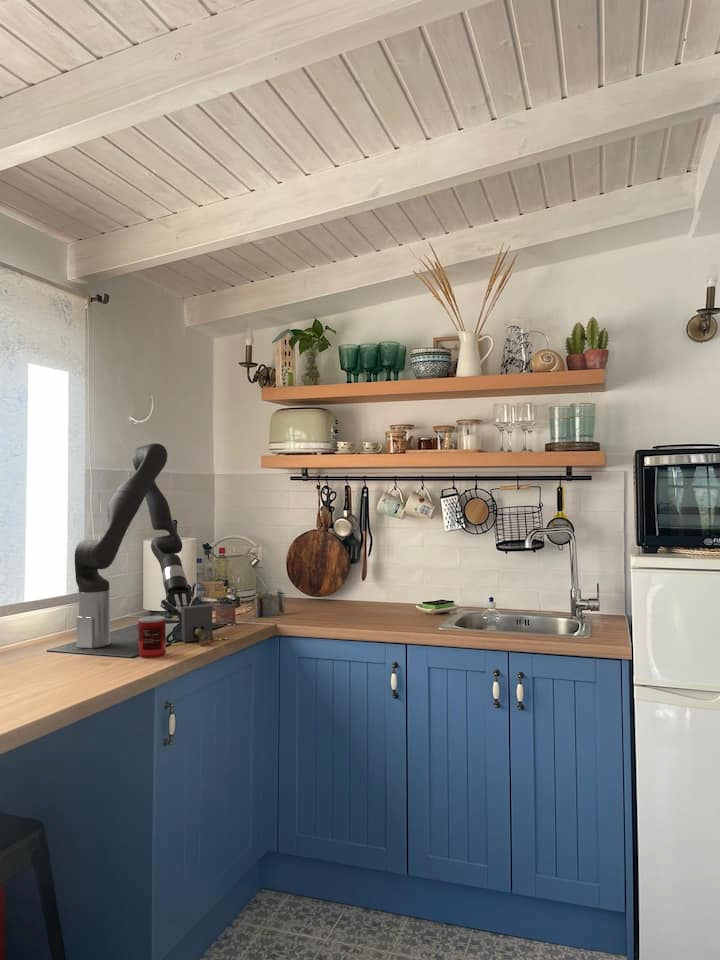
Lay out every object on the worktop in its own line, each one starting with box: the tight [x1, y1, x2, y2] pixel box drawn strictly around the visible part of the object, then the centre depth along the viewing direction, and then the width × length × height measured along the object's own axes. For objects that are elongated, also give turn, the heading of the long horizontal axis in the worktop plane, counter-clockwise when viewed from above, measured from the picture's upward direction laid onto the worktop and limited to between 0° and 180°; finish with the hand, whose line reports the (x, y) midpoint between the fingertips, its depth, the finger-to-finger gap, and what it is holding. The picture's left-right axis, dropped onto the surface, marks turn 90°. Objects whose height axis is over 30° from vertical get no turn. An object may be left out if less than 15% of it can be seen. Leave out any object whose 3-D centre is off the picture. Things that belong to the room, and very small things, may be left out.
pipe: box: [170, 627, 226, 647], centre depth 240 cm, size 23×18×4 cm
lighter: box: [214, 596, 237, 626], centre depth 266 cm, size 8×3×10 cm, turn 74°
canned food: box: [137, 615, 167, 659], centre depth 218 cm, size 8×8×11 cm
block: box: [181, 603, 214, 643], centre depth 238 cm, size 4×9×11 cm, turn 118°
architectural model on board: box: [254, 592, 286, 618], centre depth 284 cm, size 11×3×10 cm, turn 121°
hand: (184, 623), depth 239 cm, fingers closed
